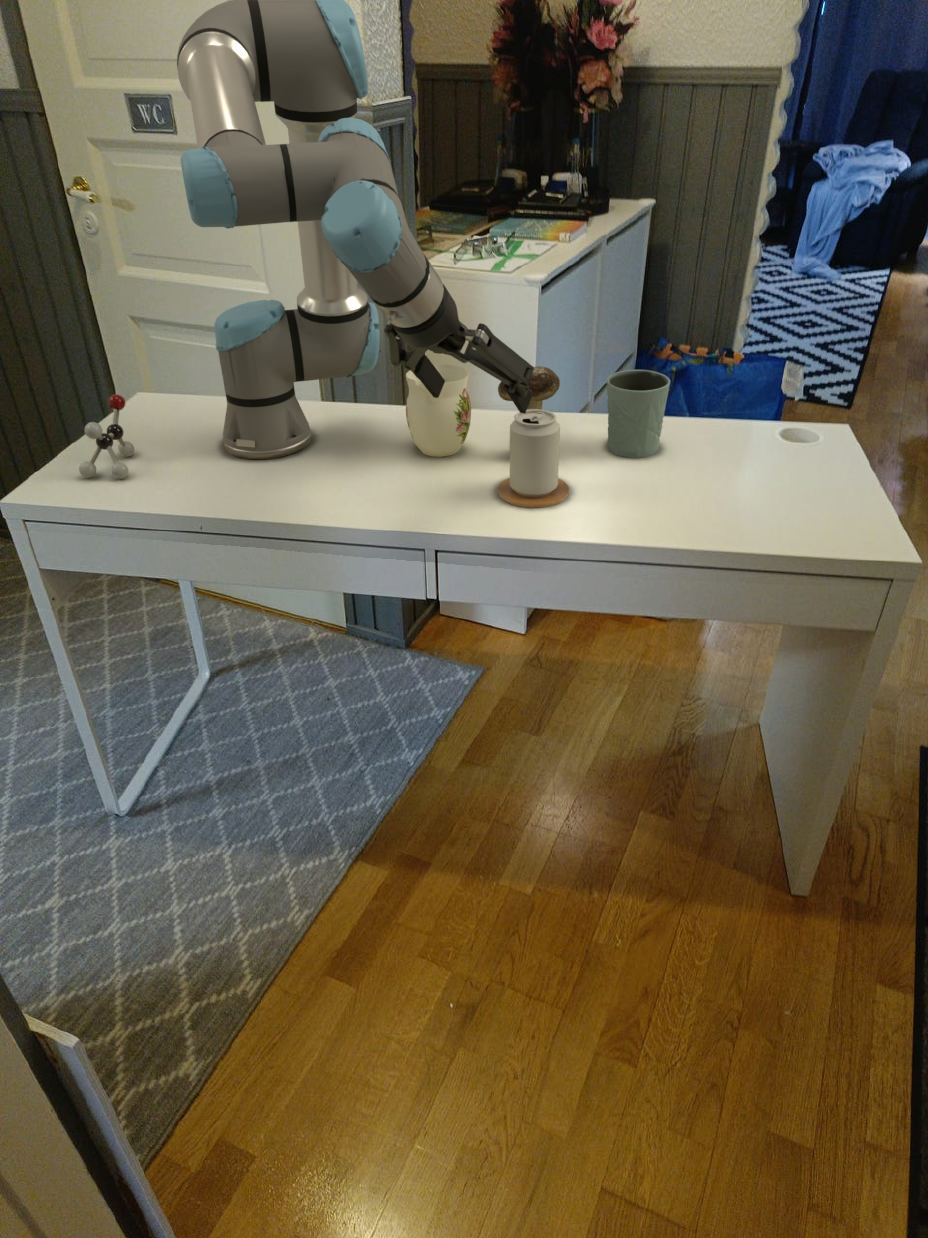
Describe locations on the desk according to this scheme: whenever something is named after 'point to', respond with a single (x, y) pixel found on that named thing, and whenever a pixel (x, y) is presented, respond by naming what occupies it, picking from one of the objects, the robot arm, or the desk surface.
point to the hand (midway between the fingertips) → (481, 396)
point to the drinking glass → (636, 411)
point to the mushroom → (537, 387)
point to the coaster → (533, 502)
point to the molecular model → (108, 442)
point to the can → (534, 453)
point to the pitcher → (439, 412)
